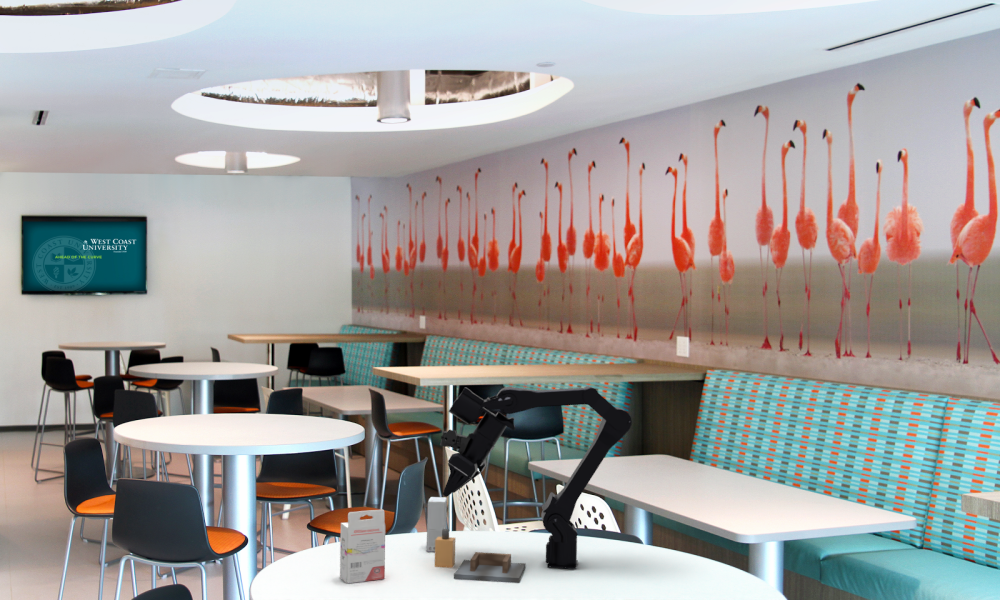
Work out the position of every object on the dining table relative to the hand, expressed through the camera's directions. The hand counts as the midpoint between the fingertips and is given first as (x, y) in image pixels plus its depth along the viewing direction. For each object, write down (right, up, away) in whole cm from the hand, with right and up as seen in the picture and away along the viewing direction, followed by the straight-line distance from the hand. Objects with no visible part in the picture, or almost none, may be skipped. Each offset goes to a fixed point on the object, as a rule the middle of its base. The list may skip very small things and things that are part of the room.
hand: (448, 493), depth 204 cm
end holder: (+10, -16, -8) cm, 20 cm away
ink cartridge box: (-18, -15, -14) cm, 27 cm away
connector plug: (-1, -16, -3) cm, 16 cm away
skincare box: (-4, -16, +12) cm, 20 cm away
